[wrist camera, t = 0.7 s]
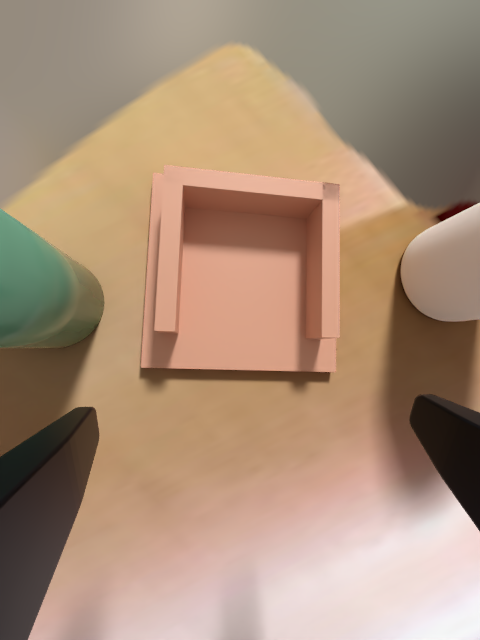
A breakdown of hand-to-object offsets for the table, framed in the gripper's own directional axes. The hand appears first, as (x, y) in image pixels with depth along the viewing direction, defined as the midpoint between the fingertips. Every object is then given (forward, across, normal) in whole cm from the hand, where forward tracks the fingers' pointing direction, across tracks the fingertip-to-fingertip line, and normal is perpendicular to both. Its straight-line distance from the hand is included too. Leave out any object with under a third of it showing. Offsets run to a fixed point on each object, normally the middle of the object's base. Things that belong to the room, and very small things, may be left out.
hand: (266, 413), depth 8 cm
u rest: (+15, -2, -1) cm, 15 cm away
